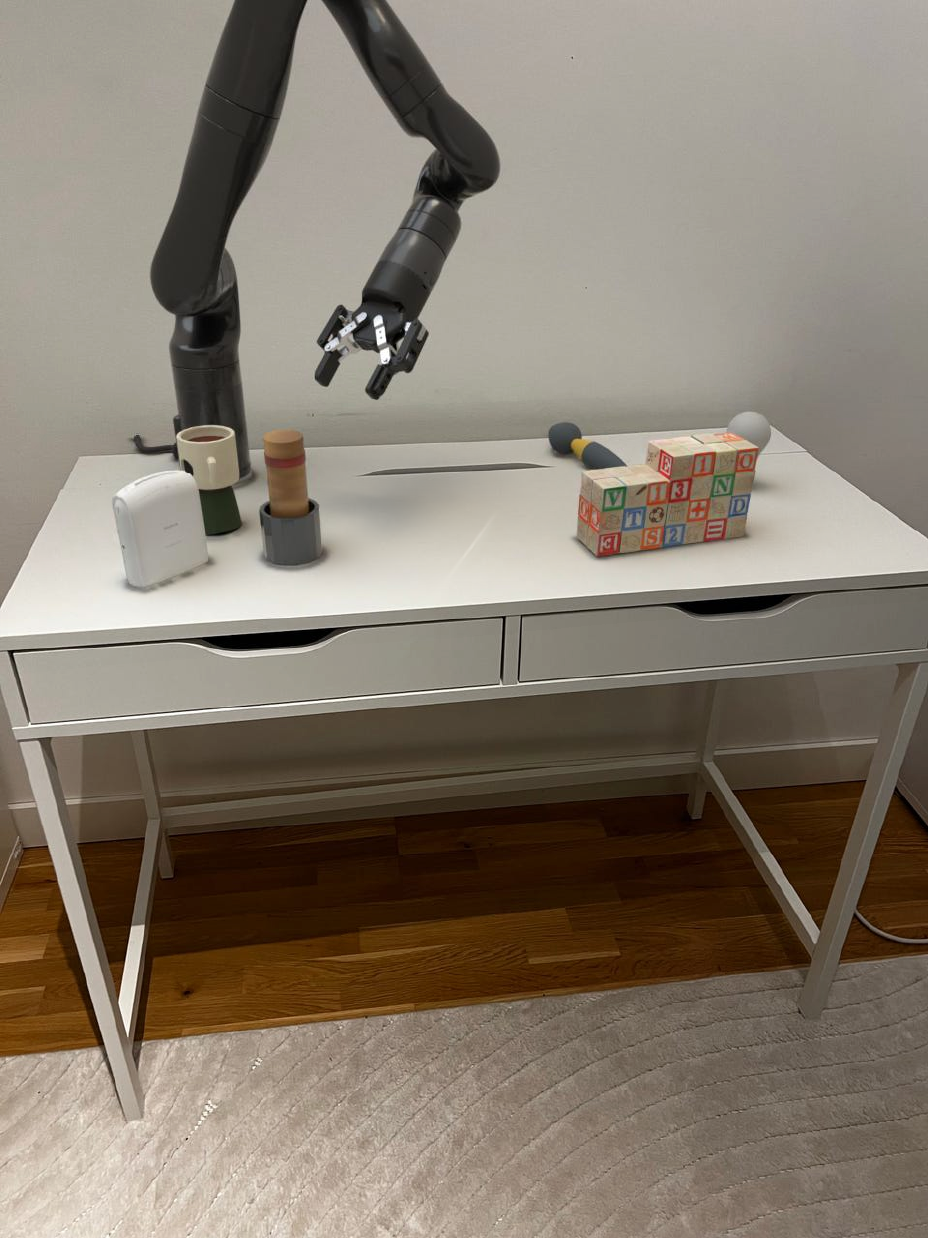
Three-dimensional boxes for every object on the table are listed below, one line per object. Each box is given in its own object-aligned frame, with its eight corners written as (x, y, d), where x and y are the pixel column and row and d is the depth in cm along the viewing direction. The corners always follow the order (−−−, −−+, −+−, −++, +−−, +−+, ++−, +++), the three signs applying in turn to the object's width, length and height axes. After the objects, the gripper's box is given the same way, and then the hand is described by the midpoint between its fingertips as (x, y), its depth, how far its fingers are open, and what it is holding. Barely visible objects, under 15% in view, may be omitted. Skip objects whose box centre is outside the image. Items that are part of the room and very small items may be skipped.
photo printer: (142, 594, 111) (124, 493, 105) (121, 582, 114) (102, 484, 108) (215, 563, 118) (202, 468, 112) (193, 553, 121) (180, 459, 115)
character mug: (185, 516, 130) (172, 423, 124) (239, 510, 133) (228, 417, 126) (194, 550, 122) (180, 451, 115) (251, 542, 124) (240, 444, 117)
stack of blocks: (596, 558, 120) (604, 464, 114) (575, 538, 125) (582, 447, 119) (745, 536, 126) (760, 445, 120) (719, 517, 132) (732, 430, 125)
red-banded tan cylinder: (267, 557, 119) (254, 440, 111) (284, 542, 123) (274, 427, 115) (302, 563, 117) (292, 444, 110) (319, 547, 121) (310, 431, 114)
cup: (254, 564, 118) (248, 514, 115) (281, 540, 124) (276, 493, 121) (307, 572, 116) (303, 522, 113) (332, 548, 122) (328, 500, 119)
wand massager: (646, 478, 144) (650, 445, 141) (623, 485, 141) (626, 453, 139) (555, 442, 157) (557, 412, 155) (532, 448, 155) (534, 418, 152)
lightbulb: (715, 490, 140) (726, 416, 135) (722, 475, 145) (733, 403, 140) (758, 496, 138) (771, 421, 133) (764, 481, 143) (776, 409, 138)
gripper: (346, 251, 121) (286, 362, 119) (434, 264, 114) (372, 383, 111) (377, 289, 127) (320, 395, 125) (462, 303, 120) (404, 416, 118)
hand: (345, 389), depth 118 cm, fingers open, 8 cm apart
